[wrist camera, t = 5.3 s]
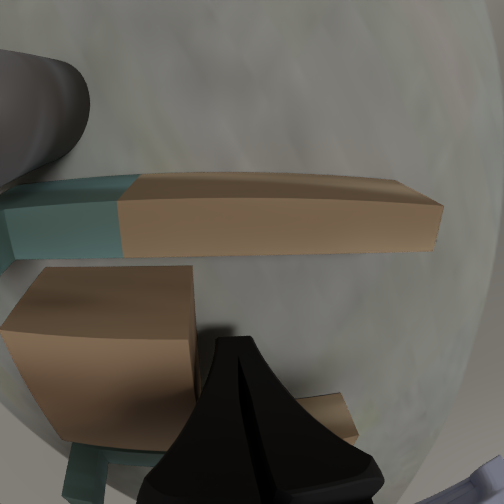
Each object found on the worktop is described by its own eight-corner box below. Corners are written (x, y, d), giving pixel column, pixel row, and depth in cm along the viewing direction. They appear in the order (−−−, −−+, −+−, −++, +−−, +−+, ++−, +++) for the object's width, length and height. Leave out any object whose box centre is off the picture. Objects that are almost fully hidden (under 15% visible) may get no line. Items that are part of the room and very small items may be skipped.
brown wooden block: (200, 378, 14) (203, 451, 10) (81, 374, 13) (62, 439, 10) (192, 265, 11) (188, 339, 8) (45, 267, 11) (-2, 329, 7)
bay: (335, 408, 17) (368, 494, 11) (87, 415, 15) (68, 505, 9) (406, 69, 9) (540, 71, 4) (5, 72, 7) (-119, 78, 2)
